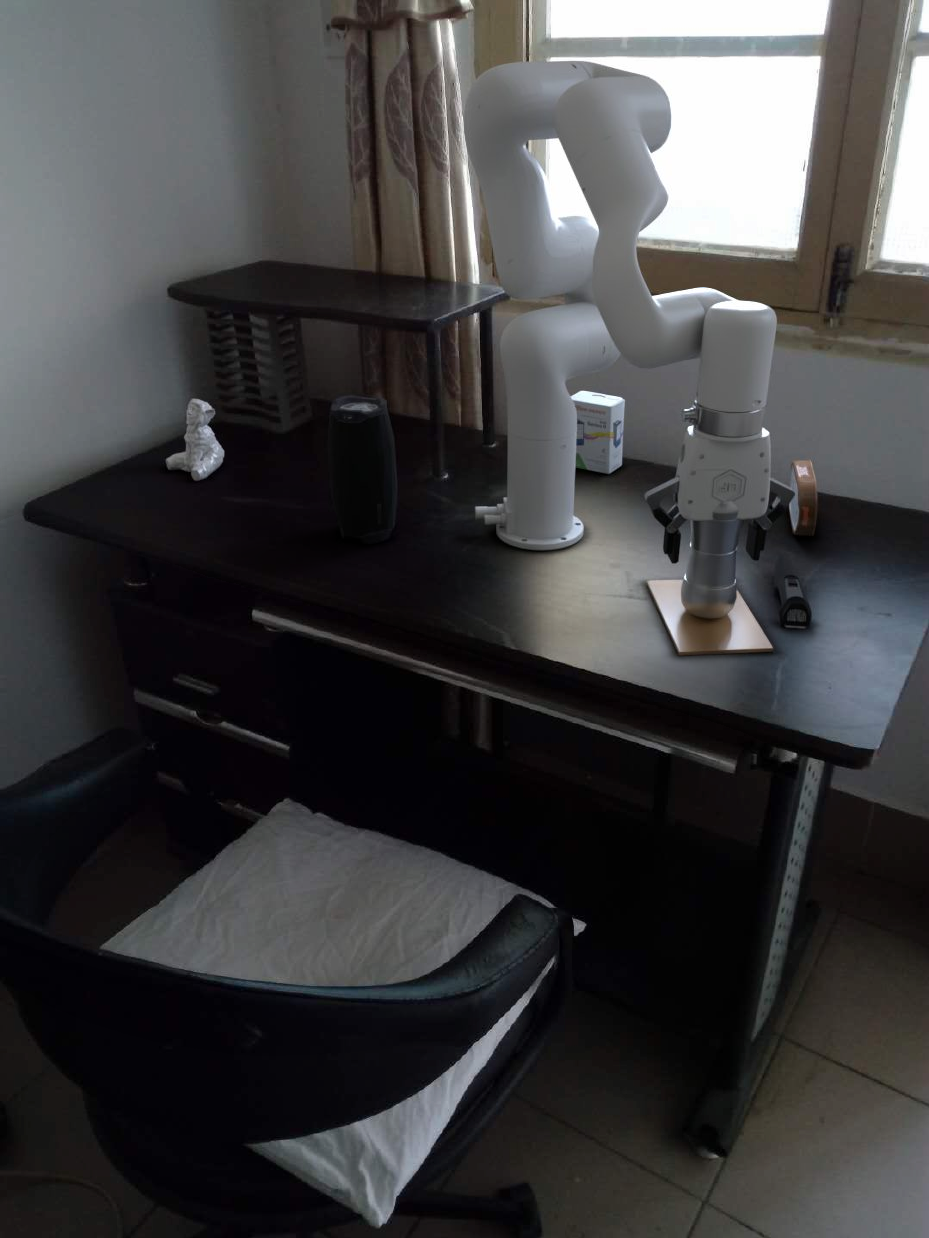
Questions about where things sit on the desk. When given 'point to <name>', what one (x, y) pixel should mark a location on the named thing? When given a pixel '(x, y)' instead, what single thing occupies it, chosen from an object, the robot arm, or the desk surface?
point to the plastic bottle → (712, 564)
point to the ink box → (599, 431)
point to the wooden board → (707, 625)
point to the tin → (803, 498)
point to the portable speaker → (362, 468)
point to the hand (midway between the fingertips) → (712, 557)
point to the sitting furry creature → (198, 443)
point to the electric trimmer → (791, 594)
